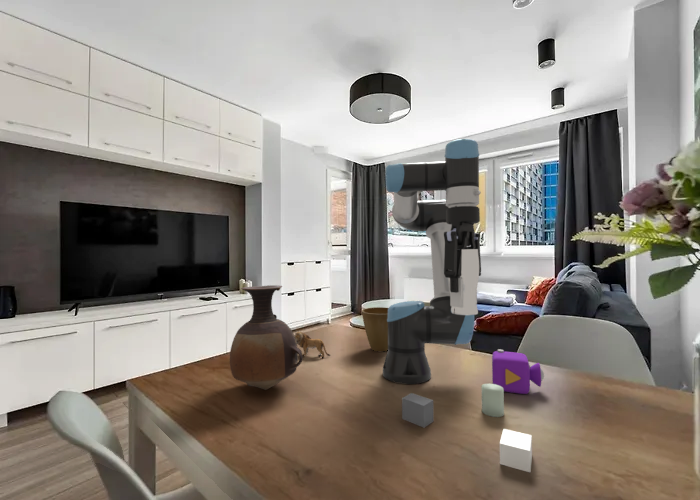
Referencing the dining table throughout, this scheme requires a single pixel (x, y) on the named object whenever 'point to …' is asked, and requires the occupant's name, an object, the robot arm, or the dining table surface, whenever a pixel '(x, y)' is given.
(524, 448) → the off-white brick
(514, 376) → the toy camera
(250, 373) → the vase
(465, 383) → the dining table surface
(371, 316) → the plant pot
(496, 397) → the sage cylinder
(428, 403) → the charcoal block
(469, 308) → the beer glass
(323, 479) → the dining table surface
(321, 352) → the lion figurine
